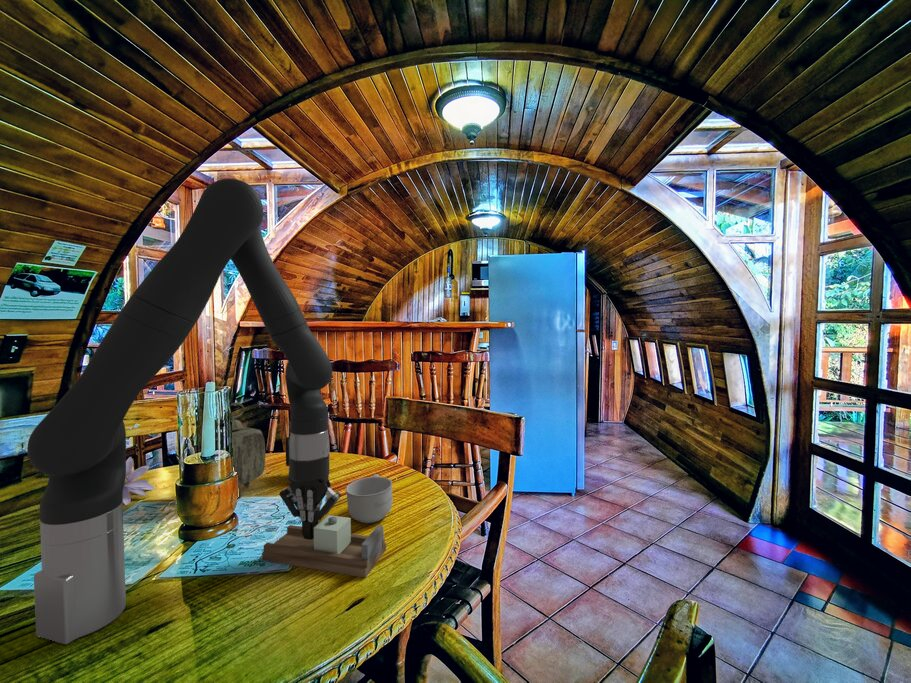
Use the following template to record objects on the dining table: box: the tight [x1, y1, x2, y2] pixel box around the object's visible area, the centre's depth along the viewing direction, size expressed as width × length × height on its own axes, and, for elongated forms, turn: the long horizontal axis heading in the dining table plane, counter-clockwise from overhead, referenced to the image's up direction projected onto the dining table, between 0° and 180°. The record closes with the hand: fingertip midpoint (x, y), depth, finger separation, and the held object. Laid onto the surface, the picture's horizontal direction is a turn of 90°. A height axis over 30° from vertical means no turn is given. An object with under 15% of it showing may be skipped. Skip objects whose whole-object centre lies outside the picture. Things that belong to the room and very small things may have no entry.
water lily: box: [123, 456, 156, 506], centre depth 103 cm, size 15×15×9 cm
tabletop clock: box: [230, 402, 266, 499], centre depth 104 cm, size 14×9×25 cm, turn 152°
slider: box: [314, 514, 352, 554], centre depth 77 cm, size 5×5×6 cm
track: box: [261, 524, 387, 578], centre depth 78 cm, size 9×22×6 cm, turn 77°
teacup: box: [345, 474, 393, 524], centre depth 95 cm, size 14×11×8 cm
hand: (310, 537), depth 79 cm, fingers closed
